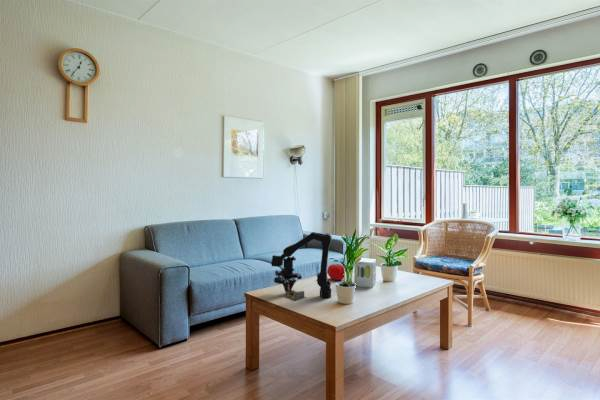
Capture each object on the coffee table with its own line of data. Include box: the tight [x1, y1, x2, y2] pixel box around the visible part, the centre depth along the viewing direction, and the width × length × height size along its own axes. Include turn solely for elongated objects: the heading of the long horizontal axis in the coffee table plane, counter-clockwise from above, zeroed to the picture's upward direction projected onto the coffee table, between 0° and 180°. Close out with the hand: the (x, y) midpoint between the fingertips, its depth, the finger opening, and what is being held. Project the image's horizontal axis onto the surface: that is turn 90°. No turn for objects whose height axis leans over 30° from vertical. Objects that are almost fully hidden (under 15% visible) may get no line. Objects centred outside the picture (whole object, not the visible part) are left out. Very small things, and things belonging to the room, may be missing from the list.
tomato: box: [327, 263, 345, 281], centre depth 267 cm, size 12×13×12 cm
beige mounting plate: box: [278, 290, 307, 302], centre depth 223 cm, size 14×10×5 cm
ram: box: [284, 284, 296, 296], centre depth 225 cm, size 5×5×6 cm
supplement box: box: [353, 257, 377, 289], centre depth 254 cm, size 13×13×18 cm
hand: (287, 291), depth 226 cm, fingers closed on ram, 2 cm apart
